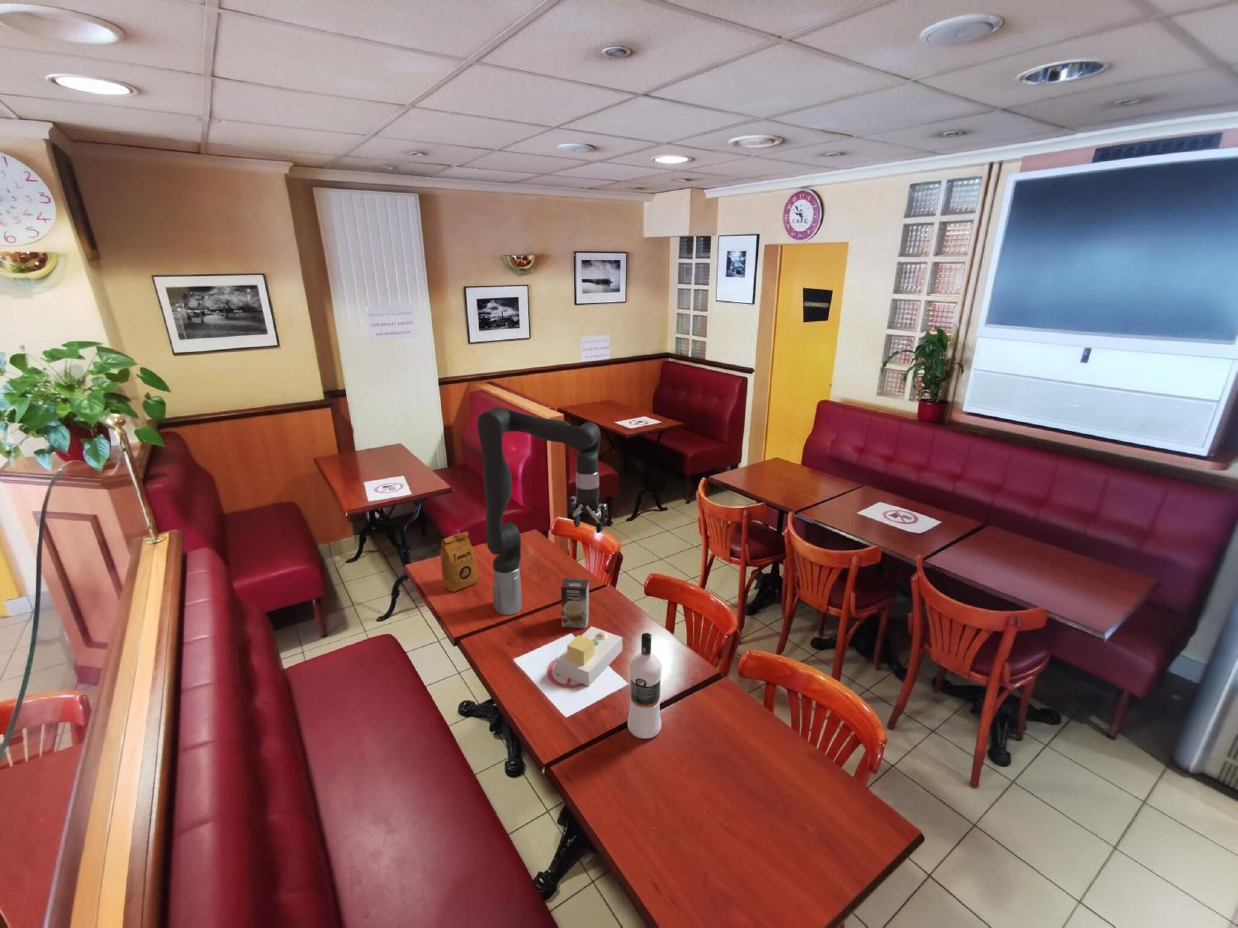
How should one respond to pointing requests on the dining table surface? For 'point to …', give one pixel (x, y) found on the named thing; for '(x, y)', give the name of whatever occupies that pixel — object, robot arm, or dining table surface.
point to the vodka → (645, 692)
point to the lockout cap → (581, 650)
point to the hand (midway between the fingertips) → (588, 529)
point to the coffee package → (458, 562)
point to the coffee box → (575, 602)
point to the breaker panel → (604, 655)
